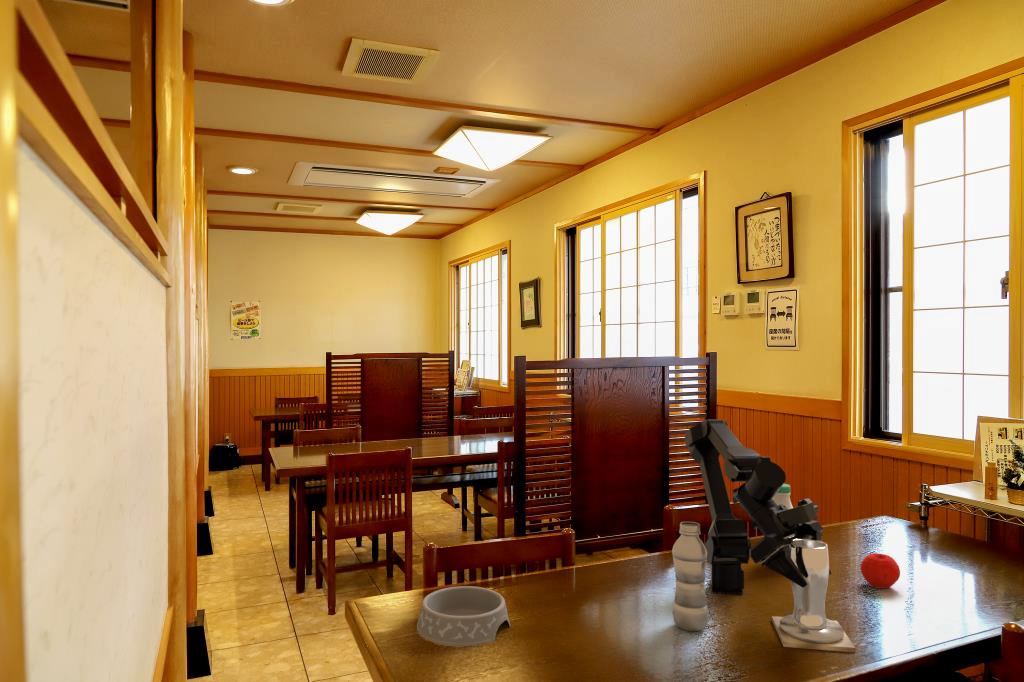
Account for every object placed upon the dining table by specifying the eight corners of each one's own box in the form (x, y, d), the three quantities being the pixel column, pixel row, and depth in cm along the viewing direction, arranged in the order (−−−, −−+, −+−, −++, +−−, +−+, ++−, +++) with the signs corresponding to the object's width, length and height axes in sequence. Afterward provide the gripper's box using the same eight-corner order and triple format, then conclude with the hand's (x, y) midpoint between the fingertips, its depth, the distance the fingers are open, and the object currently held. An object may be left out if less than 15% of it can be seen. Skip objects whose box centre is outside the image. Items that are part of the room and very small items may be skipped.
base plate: (783, 646, 123) (783, 642, 123) (771, 620, 135) (771, 616, 135) (855, 652, 121) (855, 647, 121) (837, 625, 133) (837, 620, 133)
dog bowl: (522, 617, 137) (522, 590, 137) (481, 655, 121) (481, 625, 121) (448, 604, 144) (448, 578, 144) (399, 638, 128) (399, 609, 128)
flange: (786, 641, 124) (786, 635, 124) (774, 617, 134) (774, 611, 134) (851, 646, 122) (851, 640, 122) (834, 621, 132) (834, 616, 132)
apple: (883, 595, 148) (882, 561, 148) (851, 583, 155) (851, 551, 155) (908, 590, 151) (908, 556, 151) (876, 579, 159) (876, 547, 159)
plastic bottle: (703, 638, 127) (702, 530, 127) (667, 630, 130) (667, 525, 130) (712, 626, 132) (712, 522, 132) (678, 618, 136) (678, 518, 136)
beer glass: (834, 631, 125) (833, 549, 125) (793, 629, 126) (792, 547, 127) (824, 617, 132) (823, 539, 132) (786, 614, 133) (785, 537, 133)
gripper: (764, 492, 125) (824, 568, 117) (813, 479, 137) (871, 547, 129) (726, 527, 131) (780, 601, 123) (777, 511, 143) (829, 578, 135)
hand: (817, 580), depth 127 cm, fingers open, 9 cm apart
